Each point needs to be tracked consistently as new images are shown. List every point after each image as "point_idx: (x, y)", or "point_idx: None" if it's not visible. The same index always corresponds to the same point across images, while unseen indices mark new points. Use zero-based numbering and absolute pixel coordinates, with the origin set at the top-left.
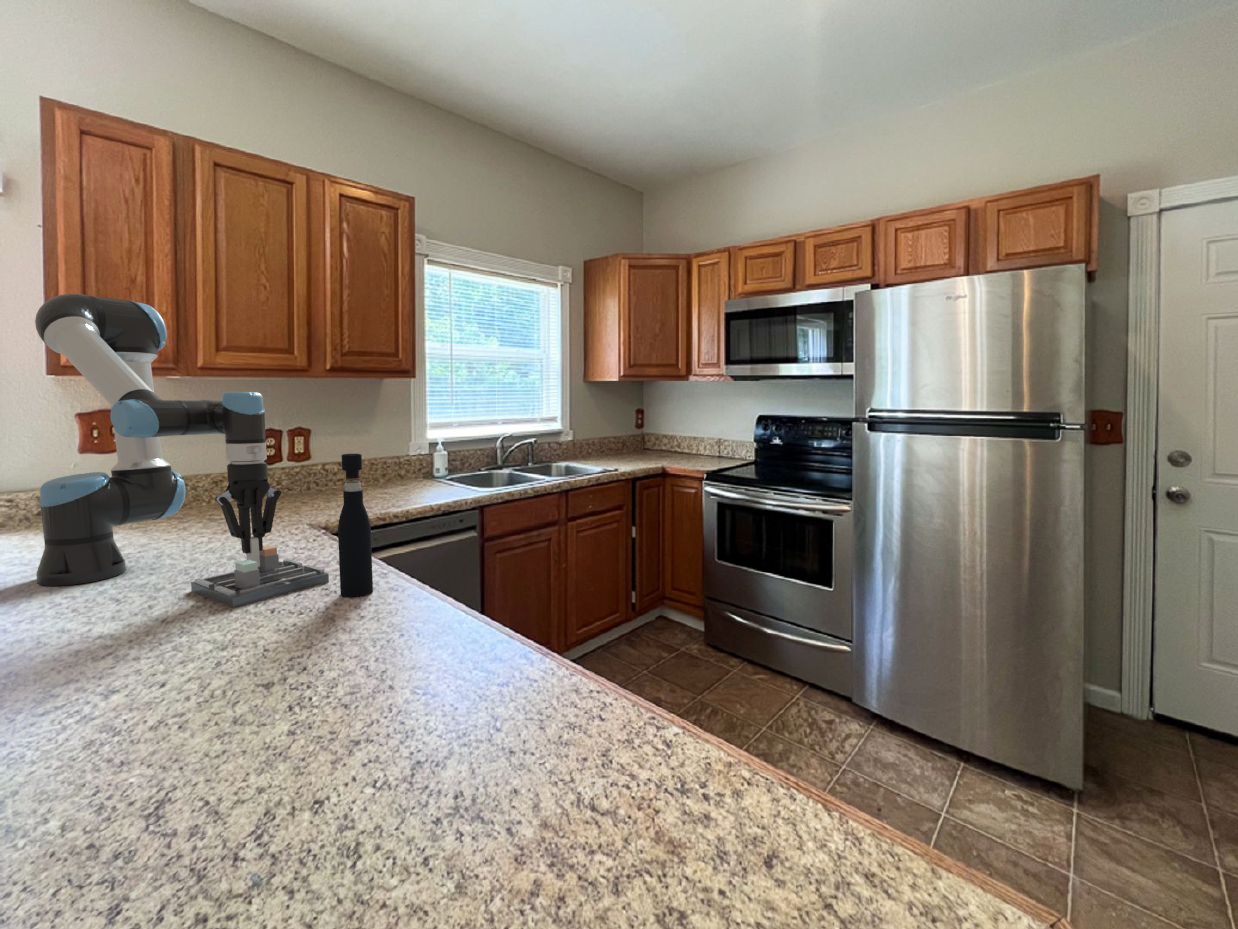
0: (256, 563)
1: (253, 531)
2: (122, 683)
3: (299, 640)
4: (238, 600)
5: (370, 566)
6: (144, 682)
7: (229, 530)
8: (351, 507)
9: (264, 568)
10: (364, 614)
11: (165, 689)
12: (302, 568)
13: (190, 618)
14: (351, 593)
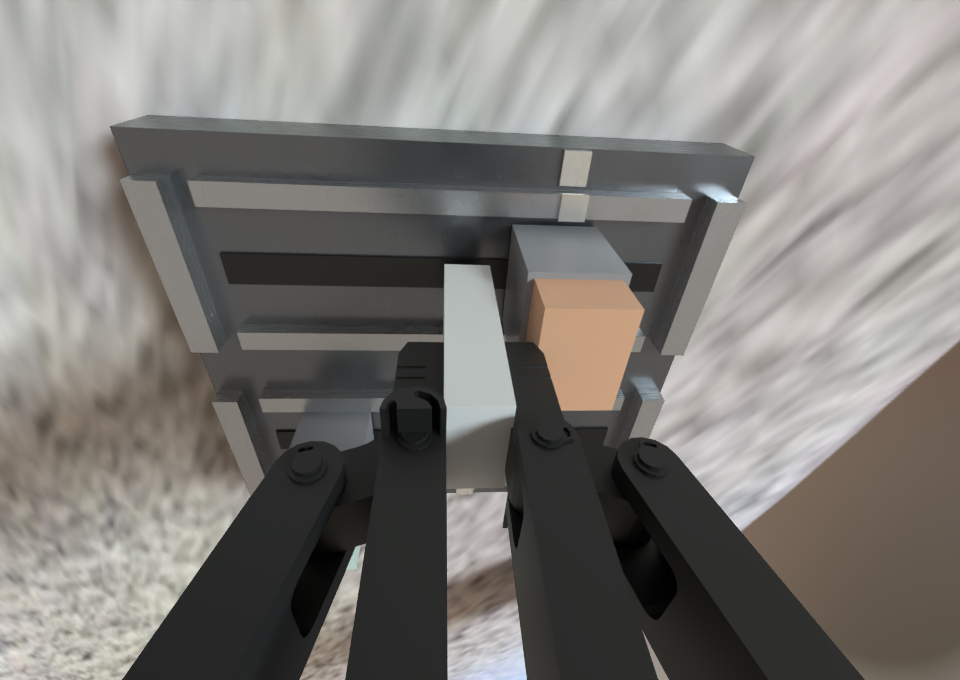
0: (352, 565)
1: (522, 476)
2: (13, 631)
3: (319, 648)
4: None
5: None
6: (54, 642)
7: (236, 519)
8: None
9: (506, 325)
10: (469, 633)
11: (92, 664)
12: (618, 409)
13: (134, 458)
14: None
